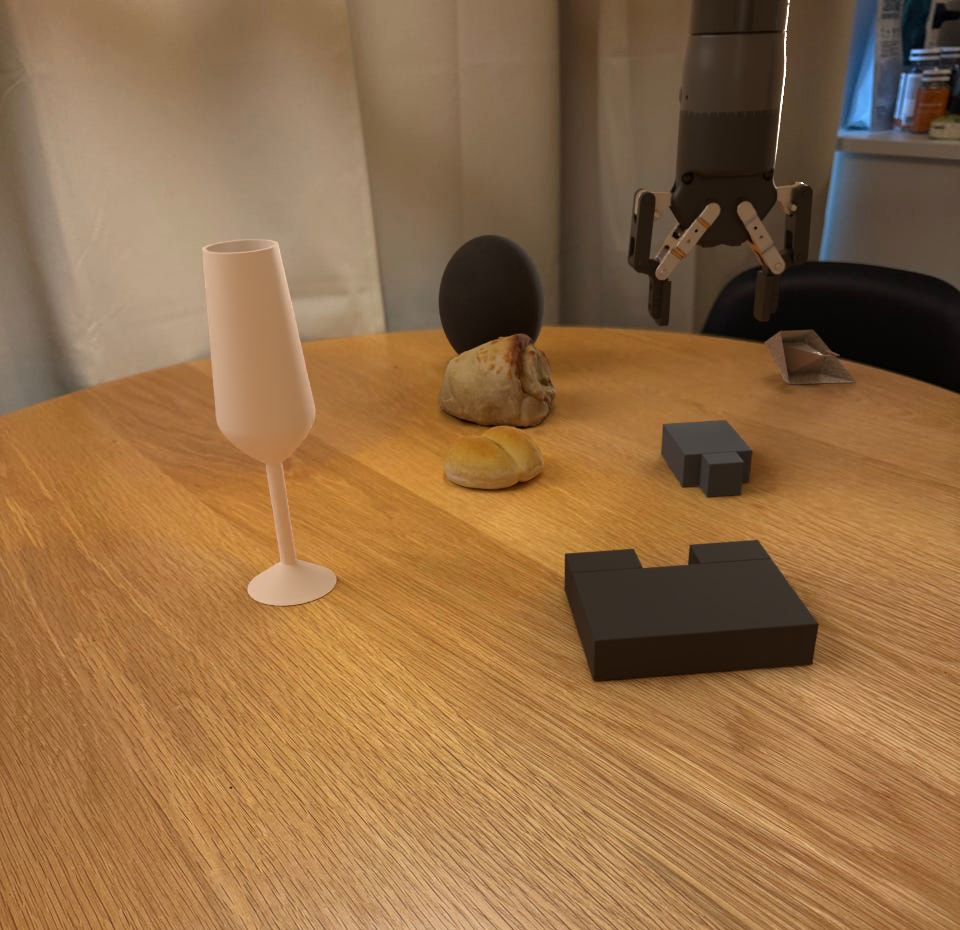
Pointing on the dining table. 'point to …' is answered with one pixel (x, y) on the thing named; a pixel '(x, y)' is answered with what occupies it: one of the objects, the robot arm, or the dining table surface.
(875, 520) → the dining table surface
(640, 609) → the notch pad
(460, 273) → the decorative egg
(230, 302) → the champagne flute
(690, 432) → the pad
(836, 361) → the paper boat
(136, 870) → the dining table surface
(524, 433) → the bread roll
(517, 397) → the pastry
